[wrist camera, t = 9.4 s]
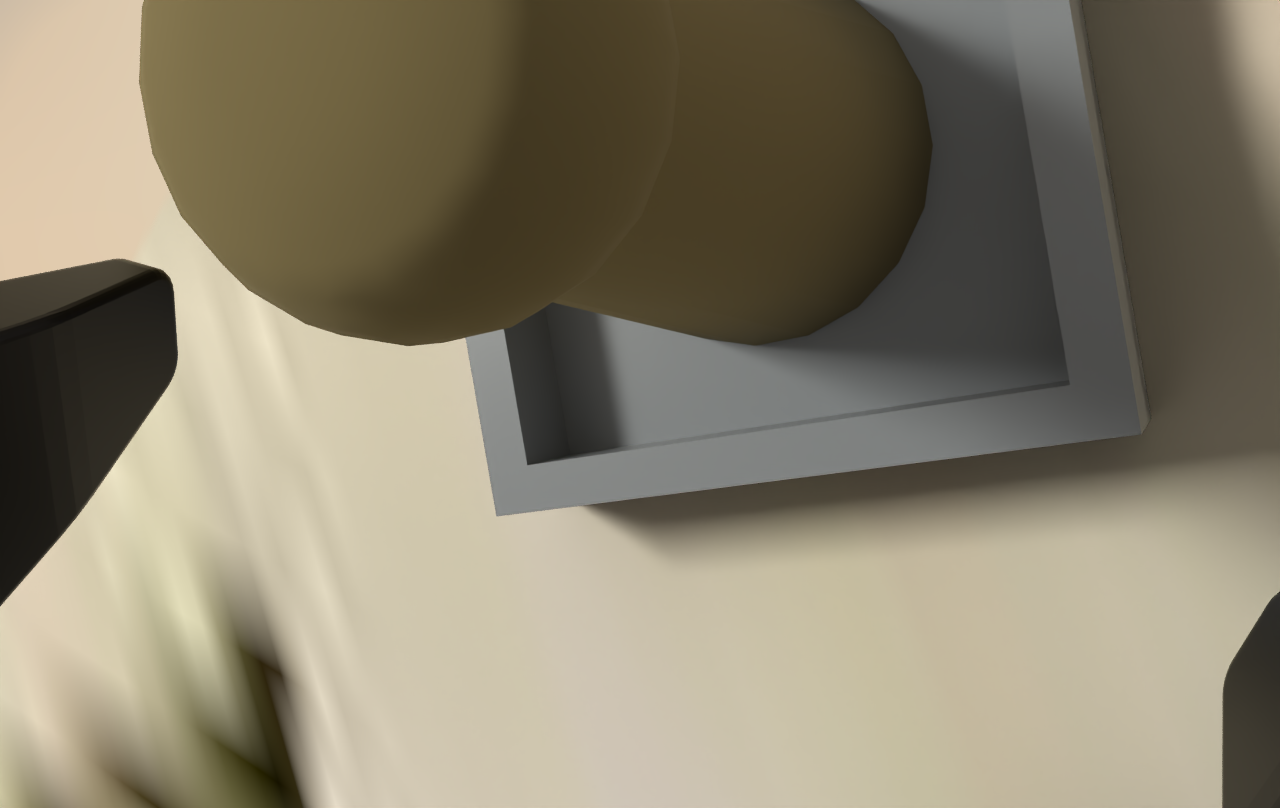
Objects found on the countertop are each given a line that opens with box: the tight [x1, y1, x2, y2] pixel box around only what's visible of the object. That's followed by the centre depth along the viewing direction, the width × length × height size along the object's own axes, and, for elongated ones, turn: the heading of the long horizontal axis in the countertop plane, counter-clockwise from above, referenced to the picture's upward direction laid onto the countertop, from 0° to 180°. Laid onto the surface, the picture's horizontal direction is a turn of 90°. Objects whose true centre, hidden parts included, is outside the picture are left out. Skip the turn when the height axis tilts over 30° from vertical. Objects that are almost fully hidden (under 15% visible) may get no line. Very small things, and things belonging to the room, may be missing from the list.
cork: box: [139, 0, 933, 346], centre depth 15 cm, size 6×6×11 cm
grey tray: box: [466, 0, 1151, 516], centre depth 19 cm, size 10×10×2 cm
